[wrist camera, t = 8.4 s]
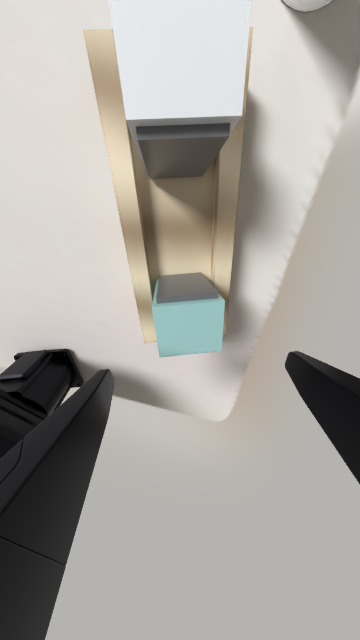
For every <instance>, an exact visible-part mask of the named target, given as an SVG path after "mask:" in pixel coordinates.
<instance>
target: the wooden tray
mask: <svg viewBox="0 0 360 640" xmlns="http://www.w3.org/2000/svg"><path fill="white" fill-rule="evenodd" d="M83 32H84V38H85V43H86V48H87V53H88V58H89V63H90V68H91V73H92V78H93V83H94V89H95V94H96V99H97V104H98V109H99V114H100V119H101V124H102V129H103V135H104V140H105V145H106V150H107V155H108V160H109V165H110V170H111V175H112V180H113V186H114V191H115V196H116V201H117V206H118V211H119V216H120V221H121V226H122V232H123V237H124V242H125V247H126V252H127V257H128V262H129V267H130V272H131V278H132V283H133V288H134V293H135V298H136V303H137V308H138V313H139V318H140V323H141V329H142V334H143V339H144V343H153V342H157V337H156V331H155V325H154V319H153V313H152V303H153V298H154V292H155V287H156V281H157V279H159V276H162V275H174V274H185V273H197V272H201V273H202V274H203V275H204V276H205V278H206V279H207V280H208V281H209V282H210V283H211V284H212V286H213V287H214V288H215V289H216V290H217V291H218V293H219V294H220V295H221V297H222V298H223V299H224V300H225V309H224V324H223V336H225V335H226V324H227V313H228V302H229V291H230V280H231V268H232V257H233V246H234V235H235V224H236V213H237V202H238V190H239V179H240V168H241V157H242V146H243V135H244V124H245V112H246V101H247V90H248V79H249V68H250V57H251V45H252V34H253V27H249V37H248V49H247V61H246V73H245V85H244V97H243V109H242V116H241V118H240V119H239V121H238V122H237V124H236V125H235V127H234V128H233V130H232V131H231V133H230V136H229V138H228V139H227V141H226V142H225V144H224V145H223V147H222V148H221V150H220V151H219V153H218V154H217V156H216V157H215V159H214V160H213V162H212V163H211V165H210V166H209V168H208V169H207V171H206V172H205V173H204V175H203V176H199V177H179V178H160V179H149V176H148V174H145V172H144V169H143V166H142V163H141V161H140V158H139V155H138V152H137V149H136V147H135V144H134V141H133V138H132V135H131V133H130V130H129V127H128V124H127V121H126V117H125V110H124V103H123V96H122V90H121V83H120V76H119V69H118V62H117V55H116V48H115V41H114V35H113V29H98V30H83Z"/></svg>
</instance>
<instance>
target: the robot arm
mask: <svg viewBox="0 0 360 640" xmlns="http://www.w3.org/2000/svg"><path fill="white" fill-rule="evenodd" d="M14 359H15V360H16V361H15V362H14V363H13V364H12V365H11V366H10V367H8V368H7V369H6V370H5V371H4V372H3V373H1V374H0V640H45V637H46V634H47V630H48V627H49V623H50V620H51V616H52V613H53V609H54V606H55V602H56V599H57V595H58V592H59V588H60V585H61V581H62V577H63V574H64V571H65V567H66V566H65V565H66V563H67V559H68V556H69V553H70V549H71V546H72V542H73V539H74V535H75V532H76V528H77V525H78V522H79V518H80V514H81V511H82V507H83V504H84V501H85V497H86V493H87V490H88V487H89V483H90V480H91V476H92V472H93V469H94V466H95V462H96V459H97V455H98V452H99V448H100V445H101V441H102V438H103V434H104V431H105V427H106V424H107V420H108V416H109V411H110V406H111V400H112V394H113V389H114V379H113V376H112V374H111V371H110V369H102V370H100V371H98V372H97V373H96V374H95V375H94V376H93V377H92V378H91V379H89V380H88V381H87V382H86V383H85V384H84V385H83V383H84V381H83V379H82V377H81V375H80V373H79V371H78V369H77V367H76V365H75V363H74V361H73V358H72V356H71V354H70V352H69V351H68V350H67V349H59V350H48V351H47V350H43V351H32V352H25V353H17V354H16V355H15V356H14ZM285 368H286V370H287V372H288V374H289V376H290V377H291V379H292V381H293V383H294V385H295V387H296V388H297V390H298V392H299V394H300V396H301V397H302V399H303V400H304V402H305V403H306V404H307V406H308V408H309V409H310V411H311V412H312V414H313V415H314V417H315V418H316V420H317V421H318V423H319V424H320V425H321V427H322V429H323V430H324V432H325V433H326V435H327V436H328V438H329V439H330V440H331V442H332V444H333V445H334V447H335V448H336V450H337V451H338V452H339V454H340V456H341V457H342V458H343V460H344V462H345V463H346V465H347V466H348V468H349V469H350V470H351V472H352V473H353V475H354V476H355V478H356V479H357V481H358V482H359V484H360V379H359V378H357V377H355V376H353V375H351V374H348V373H346V372H344V371H341V370H339V369H337V368H335V367H333V366H330V365H328V364H326V363H323V362H321V361H319V360H317V359H315V358H313V357H310V356H308V355H306V354H304V353H301V352H298V351H294V352H289V354H288V356H287V359H286V362H285ZM82 385H83V386H82ZM81 386H82V387H81ZM73 387H80V388H79V389H78V390H77V391H76V392H75V393H74V394H73V395H72V396H70V397H69V398H68V399H67V400H66V401H65V402H64V403H63V404H61V403H62V401H63V399H64V398H65V396H66V394H67V393H68V391H69V390H70V388H73ZM60 404H61V405H60Z"/></svg>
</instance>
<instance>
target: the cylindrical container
mask: <svg viewBox="0 0 360 640" xmlns="http://www.w3.org/2000/svg"><path fill="white" fill-rule="evenodd" d="M283 1H284V2H285V4H286V5H288V6H290V7H291V8H293V9H295V10H298V11H304V12H307V11H313V10H317V9H319V8H321V7H323V6H325V5H327V4H329V3H330V2H331V1H332V0H283Z"/></svg>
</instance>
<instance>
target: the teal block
mask: <svg viewBox="0 0 360 640" xmlns="http://www.w3.org/2000/svg"><path fill="white" fill-rule="evenodd" d="M224 309H225V300H224V299H223V298H222V297H221V295H220V294H219V293H218V291H217V290H216V289H215V288H214V287H213V286H212V284H211V283H210V282H209V281H208V280H207V279H206V278H205V276H204V275H203V274H202V273H201V272H197V273H185V274H174V275H162V276H159V279H157V281H156V287H155V292H154V298H153V303H152V313H153V319H154V325H155V331H156V337H157V343H158V349H159V355H160V357H168V356H177V355H187V354H197V353H206V352H216V351H222V339H223V324H224Z"/></svg>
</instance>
